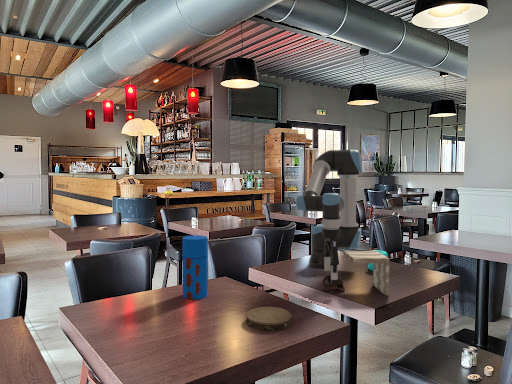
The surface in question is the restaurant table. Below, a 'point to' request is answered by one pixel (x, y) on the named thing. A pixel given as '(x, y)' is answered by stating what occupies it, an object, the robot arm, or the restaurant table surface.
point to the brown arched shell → (332, 283)
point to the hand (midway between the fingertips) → (330, 275)
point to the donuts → (379, 252)
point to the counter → (379, 267)
